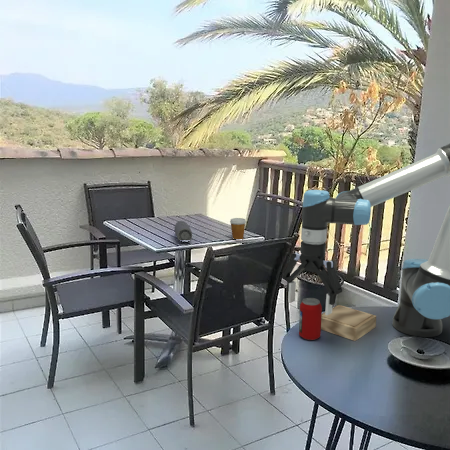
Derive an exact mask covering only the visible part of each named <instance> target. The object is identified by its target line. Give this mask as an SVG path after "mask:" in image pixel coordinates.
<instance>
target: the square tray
mask: <svg viewBox="0 0 450 450" xmlns="http://www.w3.org/2000/svg"><path fill="white" fill-rule="evenodd" d="M376 327H377V315H376V314H375V315H374V314H372V313H369V312H365V311H361V310H357V309H354V308H352V307H348V306H345V305H341V304H337V305H336V306H334V307H332V313H331V314H329V315H325V311H324V312H323V313H322V317H321V331H325V332H328V333H330V334H334V335H336V336H339V337H342V338H345V339H348V340H351V341H353V342H356V341H358V340H359V339H360V338H362V337H363V336H365V335H367V334H368V333H369V332H371V331H373V330H374V329H375V328H376Z"/></svg>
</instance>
